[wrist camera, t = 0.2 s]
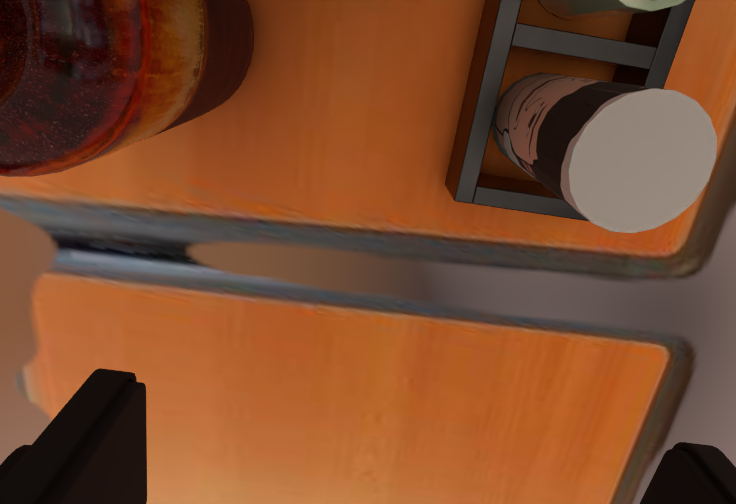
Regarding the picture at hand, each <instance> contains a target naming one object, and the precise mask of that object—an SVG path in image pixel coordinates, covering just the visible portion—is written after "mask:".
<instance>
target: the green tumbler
mask: <svg viewBox="0 0 736 504" xmlns="http://www.w3.org/2000/svg"><path fill="white" fill-rule="evenodd" d="M538 1H539V2H540V4H541V5H542V6H543V7H544V8H545V9H546V10H547V11H548V12H550V13H551V14H553V15H554V16H557V17H559V18H562V19H566V20H578V21H579V20H588V19H596V18H604V17H612V16H620V15H628V14H636V13H644V12H651V11H656V10H660V9H664V8H668V7H672V6H676V5H679V4H681V3H682V2H684V1H685V0H538Z"/></svg>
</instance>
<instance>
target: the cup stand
mask: <svg viewBox="0 0 736 504" xmlns="http://www.w3.org/2000/svg"><path fill="white" fill-rule="evenodd" d="M521 2H522V0H485V4H484V8H483V13H482V18H481V22H480V27H479V31H478V36H477V40H476V45H475V49H474V54H473V59H472V63H471V68H470V72H469V77H468V81H467V86H466V91H465V95H464V100H463V104H462V109H461V113H460V118H459V122H458V127H457V132H456V136H455V141H454V145H453V150H452V154H451V159H450V164H449V168H448V173H447V177H446V182H445V185H446V187H447V189H448V190H449V192H450V194H451V196H452V197H453V199H454V201H458V202H465V203H473V204H478V205H484V206H491V207H498V208H504V209H511V210H518V211H524V212H531V213H538V214H544V215H551V216H558V217H564V218H571V219H578V220H584V221H589V220H588V219H587V218H585V217H584V216H583V215H581V214H580V213H579V212H577V211H576V210H575V209H574V208H572V207H571V206H570V205H568V204H567V203H566V202H564V201H563V200H562V199H561V198H559V197H558V196H557V195H555V194H554V193H553V192H551V191H550V190H549V189H548V188H546V187H545V186H544V185H542V184H541V183H538V182H532V181H525V180H519V179H512V178H506V177H499V176H493V175H486V174H480V170H481V166H482V161H483V157H484V153H485V149H486V145H487V141H488V137H489V133H490V129H491V125H492V120H493V116H494V112H495V108H496V104H497V100H498V96H499V92H500V88H501V84H502V79H503V75H504V71H505V67H506V63H507V59H508V55H509V51H510V49H515V50H521V51H526V52H532V53H538V54H544V55H550V56H556V57H562V58H567V59H573V60H579V61H585V62H591V63H597V64H603V65H608V66H614V67H617V68H616V71H615V74H614V77H613V80H612V82H616V83H624V84H631V85H638V86H646V87H653V88H660V89H663V87H664V85H665V82H666V79H667V76H668V74H669V71H670V68H671V65H672V62H673V60H674V57H675V54H676V51H677V49H678V46H679V43H680V40H681V38H682V35H683V32H684V29H685V27H686V24H687V21H688V18H689V16H690V13H691V10H692V7H693V5H694V2H695V0H685V1H684V2H682V3H681V4H679V5H676V6H672V7H668V8H664V9H660V10H656V11H651V12H644V13H636V14H634V16H633V19H632V22H631V25H630V28H629V31H628V34H627V37H626V40H625V42H623V41H617V40H612V39H606V38H600V37H594V36H589V35H583V34H577V33H571V32H566V31H560V30H554V29H548V28H543V27H537V26H531V25H526V24H520V23H516V22H517V18H518V14H519V10H520V6H521Z"/></svg>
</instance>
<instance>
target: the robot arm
mask: <svg viewBox="0 0 736 504" xmlns="http://www.w3.org/2000/svg"><path fill="white" fill-rule="evenodd" d="M146 502H147V448H146V386H145V384H144V383H140V382H137V381H136V376H135V374H134V373H131V372H123V371H115V370H108V369H97V370H95V371H94V372H93V373H92V374H91V375H90V377H89V378H88V379H87V380H86V381H85V383H84V384H83V385H82V386H81V387H80V388H79V390H78V391H77V392H76V393H75V394H74V396H73V397H72V398H71V399H70V400H69V402H68V403H67V404H66V405H65V406H64V407H63V409H62V410H61V411H60V412H59V413H58V415H57V416H56V417H55V418H54V419H53V421H52V422H51V423H50V424H49V425H48V426H47V428H46V429H45V430H44V431H43V432H42V434H41V435H40V436H39V437H38V438H37V439H36V441H35V442H34V443H33V444H32V445H23V446H21V447H19V448H17V449H16V450H15V451H14V452H12V453H11V454H10V455H9V456H8V457H7V458H6V459H5V461H4V462H3V463H2V464H1V465H0V504H146ZM640 504H736V467H735V466H734V465H733V464H732V463H731V462H730V460H729V459H728V458H727V457H726V456H725V455H724V454H723V453H722V452H721V451H720V450H719V449H718V448H716V447H713V446H709V445H701V444H693V443H685V442H680V443H677V444H676V445H675V446H674V447H673V448H672V449H671V450H668V451H666V453H665V454H664V456H663V458H662V460H661V462H660V464H659V466H658V468H657V470H656V472H655V474H654V476H653V478H652V480H651V482H650V484H649V486H648V488H647V490H646V492H645V494H644V496H643V498H642V500H641V502H640Z"/></svg>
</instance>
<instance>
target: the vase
mask: <svg viewBox="0 0 736 504" xmlns="http://www.w3.org/2000/svg"><path fill="white" fill-rule="evenodd" d="M253 44H254V30H253V20H252V16H251V12H250V7H249V4H248V2H247V0H0V175H1V176H8V177H10V176H39V175H45V174H51V173H57V172H61V171H64V170H67V169H70V168H73V167H75V166H78V165H81V164H84V163H87V162H89V161H92V160H95V159H98V158H100V157H103V156H106V155H108V154H111V153H113V152H116V151H118V150H120V149H123V148H125V147H128V146H130V145H133V144H135V143H137V142H140V141H142V140H145V139H147V138H149V137H152V136H154V135H157V134H159V133H161V132H164V131H166V130H169V129H171V128H173V127H176V126H178V125H180V124H182V123H185V122H187V121H189V120H192V119H194V118H196V117H199V116H201V115H203V114H205V113H207V112H209V111H210V110H212V109H214V108H216V107H217V106H219V105H221V104H222V103H224V102H225V101H226V100H227V99H228V98H230V97H231V96H232V95H233V93H234V92H235V91H236V90H237V89H238V88H239V86H240V84H241V83H242V81H243V79H244V78H245V76H246V73H247V71H248V68H249V66H250V62H251V58H252V53H253Z"/></svg>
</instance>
